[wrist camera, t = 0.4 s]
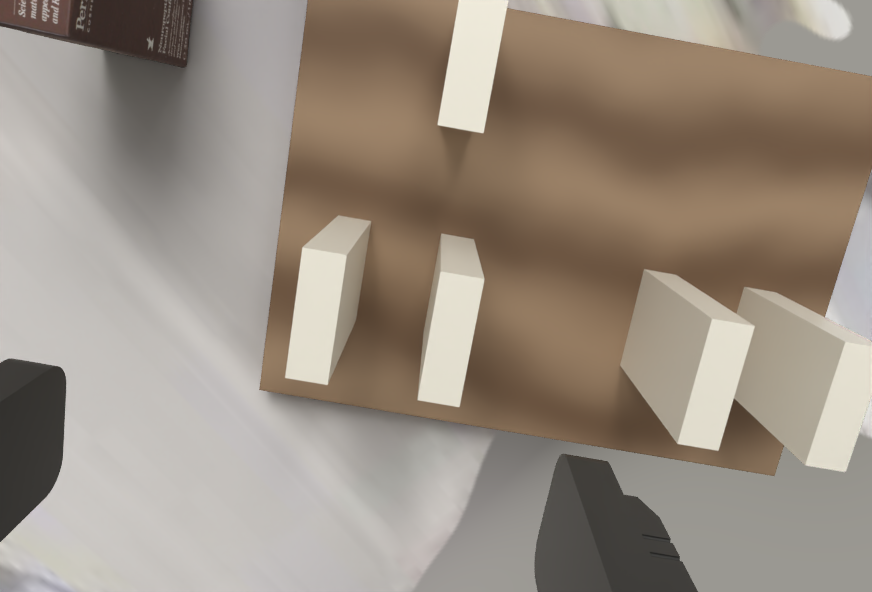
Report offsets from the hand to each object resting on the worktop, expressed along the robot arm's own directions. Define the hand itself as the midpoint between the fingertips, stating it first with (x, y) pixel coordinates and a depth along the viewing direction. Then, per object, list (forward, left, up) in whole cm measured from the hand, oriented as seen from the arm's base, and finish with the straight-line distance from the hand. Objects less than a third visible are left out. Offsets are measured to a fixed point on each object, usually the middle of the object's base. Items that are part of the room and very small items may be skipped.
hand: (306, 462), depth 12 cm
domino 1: (+2, -2, -24) cm, 24 cm away
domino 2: (-8, +2, -24) cm, 25 cm away
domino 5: (+2, +18, -24) cm, 30 cm away
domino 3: (+2, +3, -24) cm, 24 cm away
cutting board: (-1, +8, -25) cm, 27 cm away
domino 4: (+2, +13, -24) cm, 27 cm away
